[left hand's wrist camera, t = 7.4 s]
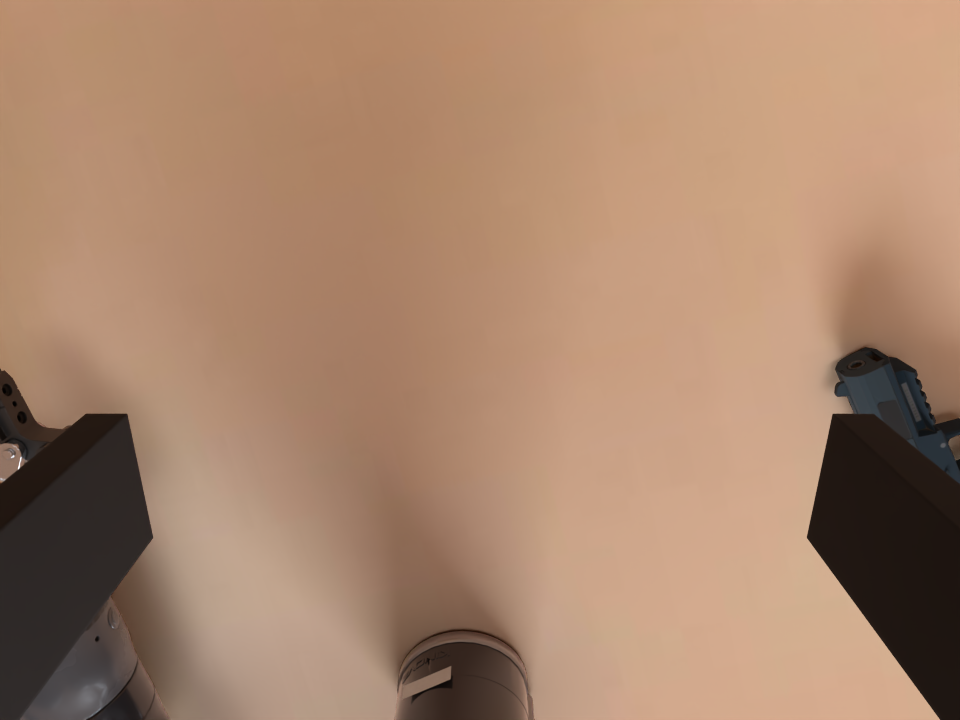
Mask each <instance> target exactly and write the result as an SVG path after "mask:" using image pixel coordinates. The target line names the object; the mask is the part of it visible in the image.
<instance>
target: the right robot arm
mask: <svg viewBox="0 0 960 720" xmlns="http://www.w3.org/2000/svg"><path fill="white" fill-rule="evenodd" d="M17 388H18V387H17V385H16V384H15V382H14V380H13V378H12V377H11V376H10V375H9V374H8V373H7V372H6V371H5V370H4V371H1V369H0V444H1V445H0V484H1V483H2V482H3V481H5V480H6V479H7V478H8V477H9V476H11V475H12V474H13V473H14V472H16V471H17V470H18V469H19V468H20V467H22V466H23V465H24V464H25V463H27V462H28V461H29V460H30V459H31V458H33V457H34V456H35V455H36V454H38V453H39V452H40V451H41V450H42V449H44V448H45V447H46V446H47V445H49V444H50V443H51V442H52V441H53V440H55V439H56V438H57V437H58V436H60V435H61V434H62V433H63V432H64V431H66V430H67V429H68V428H69V427H71V426H67V427H65V428H64V429H53V428H46V427H45V426H44V425H43V424H41V423H38V422H36V421H35V419H34V417H33V416H32V414H31V412H30V410H29V408H28V406H27V404H26V402H25V401H24V399H23V397H22V396H21V393H20V391H19V389H17ZM397 691H398V698H397V705H396V712H395V718H394V720H534V711H533V700H532V697H531V696H530V695H529V694H528V684H527V674H526V670H525V667H524V664H523V663H522V661H521V659H520V658H519V656H518V655H517V654H516V653H515V651H514V650H512V649H511V648H510V647H509V646H508V645H506V644H505V643H503V642H502V641H500V640H498V639H496V638H494V637H491V636H488V635H485V634H481V633H477V632H468V631H457V632H448V633H443V634H440V635H437V636H434V637H431V638H429V639H427V640H425V641H423V642H422V643H420V644H419V645H417V646H416V647H415V648H414V649H413V650H412V651H411V652H410V653H409V654H408V655H407V657H406V658H405V660H404V661H403V664H402V666H401V669H400V673H399V679H398V689H397ZM20 720H170V718H169V716H168V714H167V713H166V711H165V709H164V707H163V705H162V702H161V700H160V697H159V695H158V693H157V691H156V689H155V686H154V684H153V682H152V681H151V679H150V677H149V675H148V673H147V672H146V670H145V668H144V666H143V664H142V662H141V661H140V659H139V657H138V655H137V654H136V651H135V649H134V647H133V644H132V641H131V638H130V635H129V632H128V629H127V626H126V624H125V622H124V620H123V618H122V616H121V614H120V612H119V610H118V608H117V606H116V605H115V603H114V601H113V599H112V597H111V596H110V597H109V599H108V600H107V601H106V603H105V604H104V605H103V607H102V608H101V610H100V611H99V612H98V614H97V615H96V616H95V618H94V619H93V620H92V622H91V623H90V625H89V626H88V627H87V629H86V630H85V631H84V633H83V634H82V635H81V637H80V638H79V640H78V641H77V642H76V644H75V645H74V646H73V648H72V649H71V650H70V652H69V653H68V655H67V656H66V657H65V659H64V660H63V661H62V663H61V664H60V665H59V667H58V668H57V670H56V671H55V672H54V674H53V675H52V676H51V678H50V679H49V680H48V682H47V683H46V685H45V686H44V687H43V689H42V690H41V691H40V693H39V694H38V695H37V697H36V698H35V700H34V701H33V702H32V704H31V705H30V706H29V708H28V709H27V710H26V712H25V713H24V715H23V716H22V717H21V719H20Z"/></svg>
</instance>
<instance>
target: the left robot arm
mask: <svg viewBox="0 0 960 720" xmlns="http://www.w3.org/2000/svg"><path fill="white" fill-rule="evenodd" d="M152 539H153V535H152V530H151V525H150V520H149V515H148V511H147V506H146V501H145V496H144V492H143V487H142V482H141V477H140V472H139V468H138V463H137V458H136V453H135V449H134V444H133V439H132V434H131V429H130V425H129V420H128V415H127V414H85V415H84V416H83V417H82V418H80V419H79V420H78V421H77V422H75V423H74V424H73V425H72V426H71V427H69V428H68V429H67V430H66V431H64V432H63V433H62V434H61V435H60V436H58V437H57V438H56V439H55V440H53V441H52V442H51V443H50V444H49V445H47V446H46V447H45V448H44V449H42V450H41V451H40V452H39V453H38V454H36V455H35V456H34V457H33V458H31V459H30V460H29V461H28V462H27V463H25V464H24V465H23V466H22V467H20V468H19V469H18V470H17V471H16V472H14V473H13V474H12V475H11V476H9V477H8V478H7V479H6V480H5V481H3V482H2V483H1V484H0V720H20V719H21V717H22V716H23V715H24V713H25V712H26V710H27V709H28V708H29V706H30V705H31V704H32V702H33V701H34V700H35V698H36V697H37V695H38V694H39V693H40V691H41V690H42V689H43V687H44V686H45V685H46V683H47V682H48V680H49V679H50V678H51V676H52V675H53V674H54V672H55V671H56V670H57V668H58V667H59V665H60V664H61V663H62V661H63V660H64V659H65V657H66V656H67V655H68V653H69V652H70V650H71V649H72V648H73V646H74V645H75V644H76V642H77V641H78V640H79V638H80V637H81V635H82V634H83V633H84V631H85V630H86V629H87V627H88V626H89V625H90V623H91V622H92V620H93V619H94V618H95V616H96V615H97V614H98V612H99V611H100V610H101V608H102V607H103V605H104V604H105V603H106V601H107V600H108V599H109V597H110V596H111V595H112V593H113V592H114V590H115V589H116V588H117V586H118V585H119V584H120V582H121V581H122V580H123V578H124V577H125V575H126V574H127V573H128V571H129V570H130V569H131V567H132V566H133V565H134V563H135V562H136V560H137V559H138V558H139V556H140V555H141V554H142V552H143V551H144V550H145V548H146V547H147V545H148V544H149V543H150V541H151V540H152ZM807 539H808V540H809V541H810V543H811V544H812V545H813V547H814V548H815V550H816V551H817V552H818V554H819V555H820V556H821V558H822V559H823V560H824V562H825V563H826V565H827V566H828V567H829V569H830V570H831V571H832V573H833V574H834V575H835V577H836V578H837V580H838V581H839V582H840V584H841V585H842V586H843V588H844V589H845V590H846V592H847V593H848V595H849V596H850V597H851V599H852V600H853V601H854V603H855V604H856V605H857V607H858V608H859V610H860V611H861V612H862V614H863V615H864V616H865V618H866V619H867V620H868V622H869V623H870V625H871V626H872V627H873V629H874V630H875V631H876V633H877V634H878V635H879V637H880V638H881V640H882V641H883V642H884V644H885V645H886V646H887V648H888V649H889V650H890V652H891V653H892V655H893V656H894V657H895V659H896V660H897V661H898V663H899V664H900V665H901V667H902V668H903V670H904V671H905V672H906V674H907V675H908V676H909V678H910V679H911V680H912V682H913V683H914V685H915V686H916V687H917V689H918V690H919V691H920V693H921V694H922V695H923V697H924V698H925V700H926V701H927V702H928V704H929V705H930V706H931V708H932V709H933V710H934V712H935V713H936V715H937V716H938V717H939V719H940V720H960V484H959V483H958V482H957V481H955V480H954V479H953V478H952V477H951V476H949V475H948V474H947V473H946V472H944V471H943V470H942V469H941V468H940V467H938V466H937V465H936V464H935V463H933V462H932V461H931V460H930V459H929V458H927V457H926V456H925V455H924V454H922V453H921V452H920V451H919V450H918V449H916V448H915V447H914V446H913V445H911V444H910V443H909V442H908V441H907V440H905V439H904V438H903V437H902V436H900V435H899V434H898V433H897V432H896V431H894V430H893V429H892V428H891V427H889V426H888V425H887V424H886V423H885V422H883V421H882V420H881V419H880V418H878V417H877V416H876V415H875V414H833V415H832V420H831V425H830V429H829V434H828V439H827V444H826V449H825V453H824V458H823V463H822V468H821V472H820V477H819V482H818V487H817V492H816V496H815V501H814V506H813V511H812V515H811V520H810V525H809V530H808V535H807Z"/></svg>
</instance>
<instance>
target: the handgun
mask: <svg viewBox="0 0 960 720" xmlns="http://www.w3.org/2000/svg"><path fill="white" fill-rule="evenodd" d="M835 370H836V372H837V374H838V377H839V379H840V381H841V382H838V383H837V384H836V386H835V392H834V393H835V395H836V396H837V397H841V396H847V398H848V400H849V402H850V405H851V407H852V409H853V411H854V414H875V415H876V416H877V417H878V418H880V419H881V420H882V421H883V422H885V423H886V424H887V425H888V426H889V427H891V428H892V429H893V430H894V431H896V432H897V433H898V434H899V435H900V436H902V437H903V438H904V439H905V440H907V441H908V442H909V443H910V444H911V445H913V446H914V447H915V448H916V449H918V450H919V451H920V452H921V453H922V454H924V455H925V456H926V457H927V458H929V459H930V460H931V461H932V462H933V463H935V464H936V465H937V466H938V467H940V468H941V469H942V470H943V471H944V472H946V473H947V474H948V475H949V476H951V477H952V478H953V479H954V480H955V481H957V482H958V483H959V484H960V459H959V460H955V458H954V456H953V454H952V451H951V449H950V447H949V445H948V441H949V439H950V438H952V437H954V436H957V435H960V418H958V419H954V420H950V421H947V422H943V423H939V424H936V425H935V422H936V420H935V418H934V415H932V414H931V413H930V412H931V407H930V405H929V404H928V403H927V402H926V399H927V397H926V394H925V392H923V391H922V390H921V389H922V384H921V382H920V380H918V379H917V375H918V374H917V371H916V370H915V369H914V368H912V367H911V366H909V365H907V364H906V363H904V362H902V361H901V360H899V359H897V358H894V357H889V358H888V356H886V355H885V354H883V353H881V352H880V351H878V350H877V349H873V348H863V349H861V350H859V351H857V352H855V353H853V354H851V355H849V356H847V357H845V358H843V359H841V360H840V361H839V362H838V363H837V366H836V369H835Z"/></svg>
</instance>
